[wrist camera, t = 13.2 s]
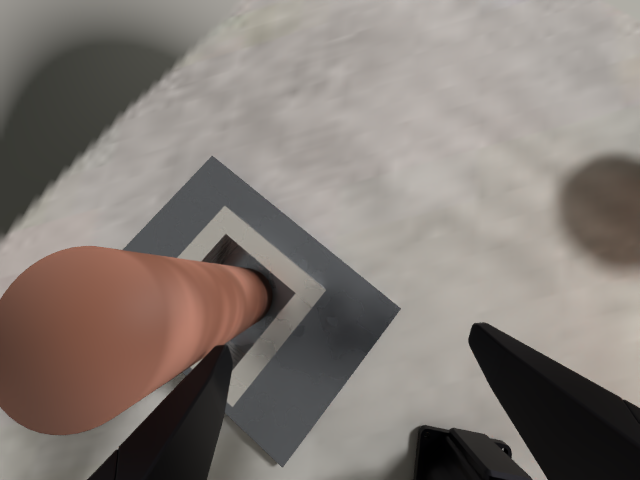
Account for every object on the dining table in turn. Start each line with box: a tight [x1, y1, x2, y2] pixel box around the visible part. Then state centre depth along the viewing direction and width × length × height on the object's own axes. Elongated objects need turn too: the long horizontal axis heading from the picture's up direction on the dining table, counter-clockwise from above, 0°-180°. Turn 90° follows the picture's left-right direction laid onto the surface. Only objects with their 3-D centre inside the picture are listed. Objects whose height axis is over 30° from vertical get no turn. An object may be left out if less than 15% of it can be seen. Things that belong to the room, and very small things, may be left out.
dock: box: [123, 156, 401, 468], centre depth 18 cm, size 20×14×4 cm
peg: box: [0, 246, 273, 435], centre depth 12 cm, size 4×4×13 cm
